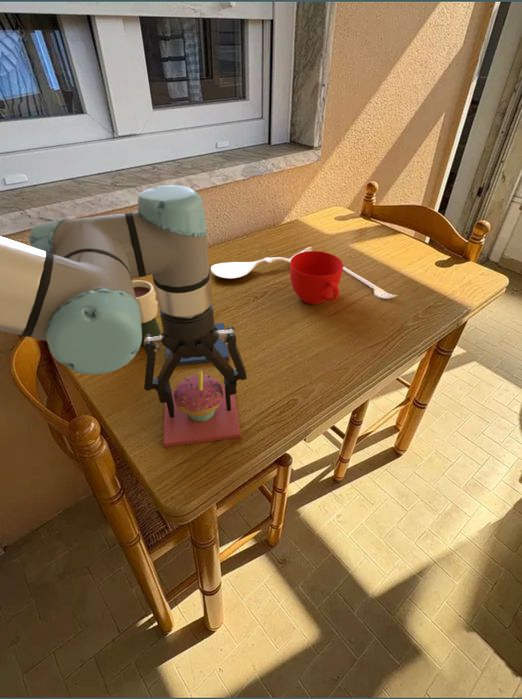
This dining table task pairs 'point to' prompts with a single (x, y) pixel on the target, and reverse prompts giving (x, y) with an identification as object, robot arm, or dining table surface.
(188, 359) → the blue mat
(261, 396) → the dining table surface
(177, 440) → the rose mat
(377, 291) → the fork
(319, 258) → the ceramic cup
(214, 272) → the spoon
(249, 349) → the dining table surface
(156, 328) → the character mug
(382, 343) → the dining table surface
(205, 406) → the cupcake
